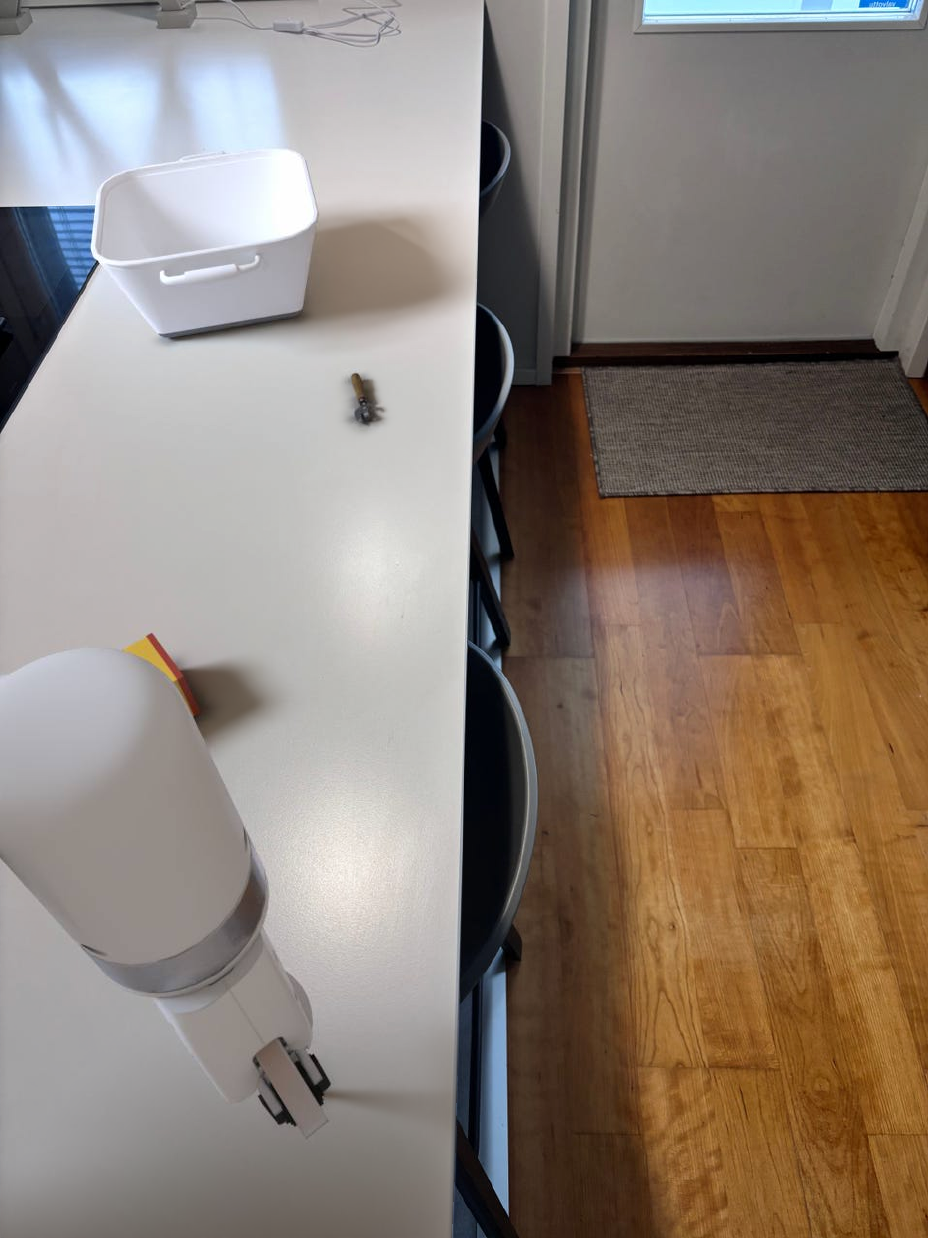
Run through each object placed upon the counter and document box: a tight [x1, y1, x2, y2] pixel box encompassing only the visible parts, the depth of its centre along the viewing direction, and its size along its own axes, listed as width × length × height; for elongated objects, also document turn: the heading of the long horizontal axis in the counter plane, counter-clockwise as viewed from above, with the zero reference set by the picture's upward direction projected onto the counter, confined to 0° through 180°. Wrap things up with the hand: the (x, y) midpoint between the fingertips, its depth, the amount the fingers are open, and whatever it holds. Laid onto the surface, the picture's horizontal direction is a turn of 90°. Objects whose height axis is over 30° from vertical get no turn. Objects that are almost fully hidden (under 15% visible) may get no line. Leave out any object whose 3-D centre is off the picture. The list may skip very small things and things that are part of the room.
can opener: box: [350, 372, 375, 424], centre depth 108 cm, size 9×2×1 cm, turn 7°
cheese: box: [121, 632, 201, 717], centre depth 78 cm, size 9×6×5 cm
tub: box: [90, 147, 320, 339], centre depth 121 cm, size 34×27×13 cm
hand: (264, 1036), depth 52 cm, fingers open, 7 cm apart
